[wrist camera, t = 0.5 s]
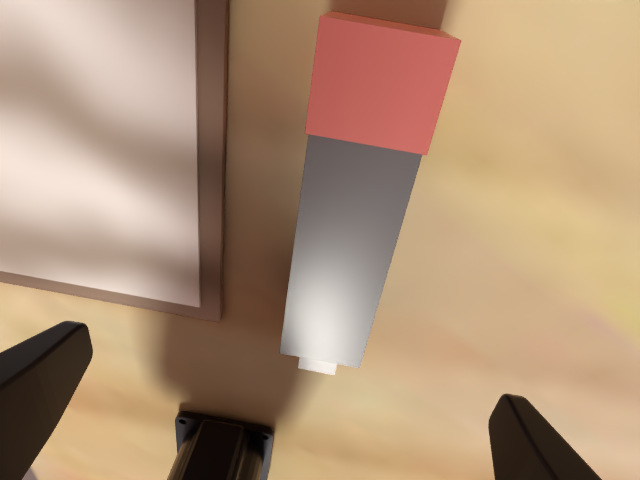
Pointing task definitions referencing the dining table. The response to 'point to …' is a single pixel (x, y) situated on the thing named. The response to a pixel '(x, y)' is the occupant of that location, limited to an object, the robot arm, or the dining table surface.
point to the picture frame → (115, 150)
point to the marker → (358, 177)
